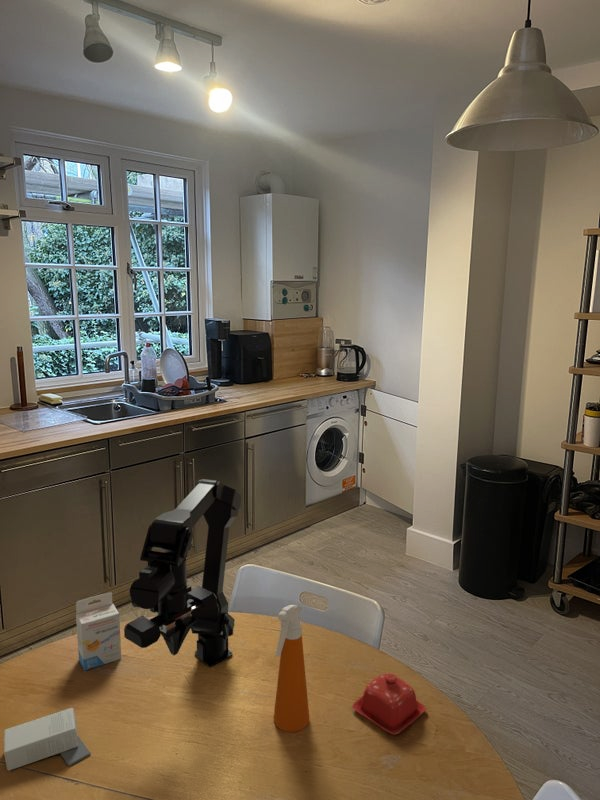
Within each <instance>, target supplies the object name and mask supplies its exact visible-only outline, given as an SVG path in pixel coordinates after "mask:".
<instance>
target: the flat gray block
mask: <svg viewBox="0 0 600 800" xmlns="http://www.w3.org/2000/svg"><path fill="white" fill-rule="evenodd" d="M78 743H79V745H78V747H75V748H72V749H69V750H66V751H64V752H61V753H59V754H60V756H61V757H62V758H63V760H64V762H65V763H66V765H67V766H68V767H70V766H72V765H75V764H76V763H78V762H79V761H82V760H83V759H84V760H85V758H87V757H89V756H91V752H90V750H89V749H88V748H87V746H86V745H85V744H84V742H83V741H82V740H81V738H80V736H78Z"/></svg>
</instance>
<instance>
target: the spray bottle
mask: <svg viewBox="0 0 600 800" xmlns="http://www.w3.org/2000/svg"><path fill="white" fill-rule="evenodd" d="M301 612H302V607H301V606H300V605H295V604H289V605H286V606H285V607H282V608H281V609H280V612H279V614H277V618H278V620H279V621H280V632H279V638H278V642H277V648H276V651H275V657H276V658H279V666H278V667H279V668H278V675H277V685H276V695H275V702H274V710H273V711H274V712H273V720H274V725H275V726H276V727H277V728H278V729H280V730H282V731H283V732H289V733H294V732H299V731H301V730H303V729H305V728H306V727H307V726H308V724H309V722H310V711H309V710H310V709H309V699H308V688H307V679H306V678H307V677H306V668H305V667H306V666H305V657H304V656H305V655H304V645H303V635H302V633H303V631H302V623H301V618H300V615H301Z"/></svg>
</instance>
